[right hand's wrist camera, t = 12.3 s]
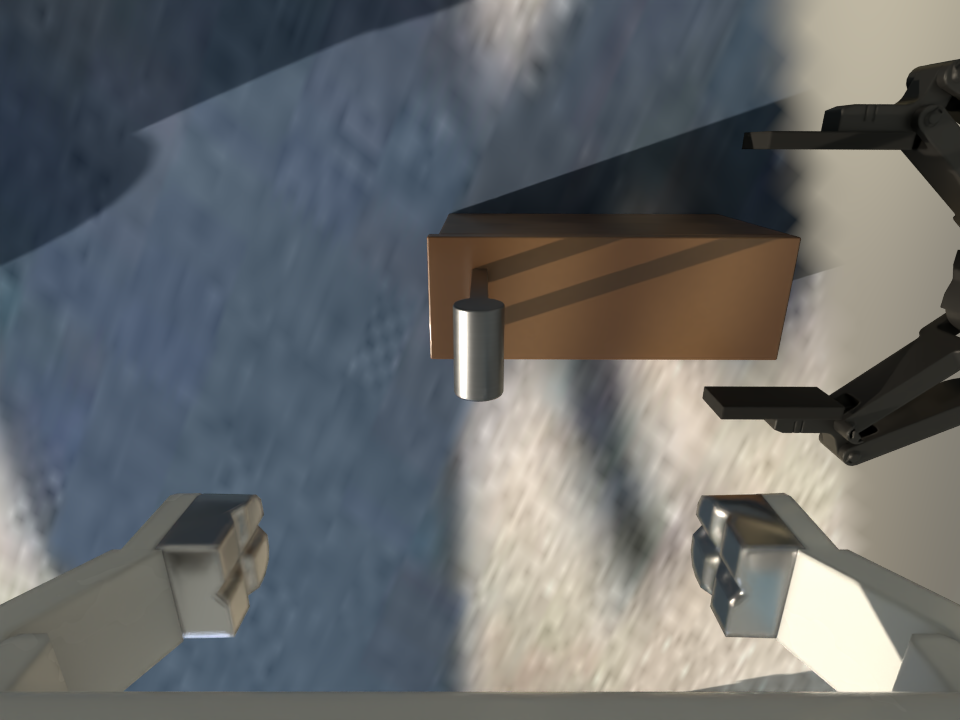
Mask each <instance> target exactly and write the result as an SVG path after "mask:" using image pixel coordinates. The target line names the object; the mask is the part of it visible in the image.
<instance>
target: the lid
mask: <svg viewBox="0 0 960 720" xmlns="http://www.w3.org/2000/svg"><path fill="white" fill-rule="evenodd" d="M800 241H801V238H800V237H797V236H793V235H587V234H429V235H428V237H427V255H428V288H429V320H430V352H431V359H454V392H455V394H456V395H457V396H458V397H459V398H462V399H464V400H468V401H478V402H479V401H489V400H493V399H496V398H498V397H500V396H501V395H502V393H503V381H504V359H638V360H776V359H777V355H778V350H779V345H780V340H781V335H782V330H783V325H784V320H785V315H786V311H787V306H788V301H789V296H790V291H791V286H792V281H793V276H794V271H795V266H796V261H797V256H798V251H799V246H800Z"/></svg>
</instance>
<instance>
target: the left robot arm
mask: <svg viewBox="0 0 960 720" xmlns="http://www.w3.org/2000/svg"><path fill="white" fill-rule="evenodd" d="M906 86H907V91H906V92H905V94H904V96H903V97H902V99H900V101H898V102H897V103H896V104H853V105H845V106H837V107H834V108H831V109H829V110H826V111H825V114H824V119H823V124H822V129H821V131H765V132H748V133H744V140H743V146H742V149H853V150H855V149H856V150H901V151H902V152H903V153H904V154H905V155H906V157H907V158H908V159H909V160H910V161H911V162H912V164H913V165H914V166H915V167H916V168H917V170H918V171H919V172H920V173H921V174H922V175H923V177H924V178H925V179H926V180H927V181H928V182H929V184H930V185H931V186H932V187H933V188H934V190H935V191H936V192H937V193H938V194H939V195H940V197H941V198H942V199H943V200H944V201H945V202H946V204H947V205H948V206H949V207H950V208H951V210H952V211H953V212H954V213H955V216H954V217H953V219H954V221H955V222H956V223H957V224H958V226H959V227H960V127H959V125H958V124H960V59H958V60H952V61H946V62H941V63H935V64H930V65H925V66H920V67H917V68H915V69H914V70H913V71H912V72H911V73H910V74H909V76H908V78H907V82H906ZM956 122H957V123H958V124H957V123H956ZM941 308H944V309H946V313H945V314H943V315H942V316H940V317H939V318H937V319H936V320H934V321H933V322H931V323H930V324H928V325H927V326H925V327H923V328H922V329H921V330H920V332H919V335H920V336H919V337H918V338H917V339H916V340H914V341H913V342H911V343H910V344H908V345H906V346H905V347H903V348H902V349H900V350H899V351H897V352H896V353H894V354H893V355H891V356H889V357H888V358H886V359H885V360H883V361H882V362H880V363H879V364H877V365H876V366H874V367H872V368H871V369H869V370H868V371H866V372H865V373H863V374H862V375H860V376H859V377H857V378H855V379H854V380H852V381H851V382H849V383H848V384H846V385H845V386H843V387H842V388H840V389H838V390H837V391H835V392H834V393H832V394H831V395H827V394H826V393H825V392H823V391H822V390H820V389H819V388H818V387H704V392H703V399H704V401H705V402H706V403H707V404H708V405H709V406H710V407H711V408H712V410H713V411H714V412H715V413H716V414H717V415H718V416H719V417H720V419H764V420H765V421H766V422H767V423H768V424H769V425H770V426H771V427H772V428H773V429H774V430H777V431H779V432H782V433H792V432H793V433H820V435H819V440H820V442H821V443H822V444H823V445H824V446H825V447H827V448H828V449H829V450H830V451H831V452H832V453H834V454H835V455H836V456H837V457H838V458H839V459H841V460H842V461H843V462H844V463H845V464H847V465H850V466H854V465H858V464H860V463H863V462H865V461H868V460H871V459H873V458H876V457H878V456H881V455H884V454H886V453H889V452H891V451H894V450H897V449H899V448H902V447H905V446H907V445H910V444H912V443H915V442H918V441H920V440H923V439H925V438H928V437H931V436H933V435H936V434H938V433H941V432H944V431H946V430H949V429H951V428H954V427H957V426H959V425H960V378H957V379H951V380H947V381H944V382H942V381H943V380H945V379H947V378H948V377H950V376H951V375H953V374H955V373H956V372H958V371H959V370H960V337H957V336H955V335H957V334H959V333H960V250H958V251H957V254H956V257H955V261H954V264H953V280H952V281H951V283H950V285H949V287H948V288H947V290H946V292H945V294H944V297H943V300H942V304H941ZM940 382H941V383H940Z"/></svg>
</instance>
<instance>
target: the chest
mask: <svg viewBox="0 0 960 720" xmlns="http://www.w3.org/2000/svg"><path fill="white" fill-rule="evenodd" d="M439 234H587V235H789V234H786V233H782V232H779V231H775V230H772V229H768V228H765V227H761V226H758V225H754V224H751V223H747V222H743V221H740V220H736V219H733V218H729V217H726V216H722V215H719V214H449V215H448V217H447V219H446V221H445V223H444V225H443V227H442V229H441V231H440V233H439Z"/></svg>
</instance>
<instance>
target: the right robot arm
mask: <svg viewBox="0 0 960 720" xmlns="http://www.w3.org/2000/svg"><path fill="white" fill-rule="evenodd" d="M263 515H264V512H263V507H262V502H261V499H260V498H259V497H258V496H257V495H250V494H200V493H179V494H174V495H170V496H169V497H168V498H167V499H166V500H165V502H164V503H163V504H162V505H161V506H160V507H159V508H158V509H157V510H156V512H155V513H154V514H153V515H152V516H151V517H150V518H149V519H148V520H147V521H146V523H145V524H144V525H143V526H142V527H141V528H140V529H139V530H138V531H137V533H136V534H135V535H134V536H133V537H132V538H131V539H130V540H129V541H128V542H127V544H126V545H125V546H124V547H123V548H122V549H121V550H110V551H108V552H106V553H104V554H102V555H100V556H98V557H96V558H94V559H92V560H90V561H88V562H86V563H84V564H82V565H80V566H78V567H76V568H74V569H72V570H70V571H68V572H66V573H64V574H62V575H60V576H58V577H56V578H54V579H52V580H50V581H48V582H46V583H43V584H41V585H39V586H37V587H35V588H33V589H31V590H29V591H27V592H25V593H23V594H21V595H19V596H17V597H15V598H13V599H11V600H9V601H7V602H5V603H3V604H1V605H0V720H960V605H959V604H957V603H955V602H953V601H951V600H949V599H947V598H945V597H943V596H941V595H939V594H937V593H935V592H932V591H930V590H928V589H926V588H924V587H922V586H920V585H918V584H916V583H914V582H912V581H910V580H908V579H906V578H904V577H902V576H900V575H898V574H896V573H894V572H892V571H890V570H888V569H886V568H884V567H882V566H880V565H878V564H876V563H874V562H872V561H870V560H868V559H866V558H864V557H862V556H860V555H858V554H856V553H854V552H852V551H850V550H839V549H838V548H837V547H836V546H835V545H834V544H833V543H832V541H831V540H830V539H829V538H828V537H827V536H826V535H825V534H824V533H823V531H822V530H821V529H820V528H819V527H818V526H817V525H816V524H815V523H814V521H813V520H812V519H811V518H810V517H809V516H808V515H807V514H806V513H805V511H804V510H803V509H802V508H801V507H800V506H799V505H798V504H797V503H796V502H795V500H794V499H793V498H792V497H791V496H789V495H787V494H785V493H770V494H753V495H702V496H701V498H700V500H699V502H698V506H697V511H696V515H697V517H698V519H699V521H700V522H701V524H702V526H701V527H700V528H699V529H698V530H697V531H696V532H695V533H694V534H693V536H692V544H691V558H692V566H693V570H694V573H695V577H696V579H697V581H698V583H699V585H700V587H701V588H702V589H704V590H705V591H707V592H708V593H709V594H711V595H712V599H711V605H710V607H711V609H712V611H713V613H714V615H715V617H716V619H717V621H718V623H719V625H720V627H721V628H722V630H723V632H724V634H725V636H726V637H751V638H777V640H776V641H777V642H779V643H780V644H781V645H782V646H783V647H785V648H786V649H787V650H788V651H789V652H791V653H792V654H793V655H794V656H795V657H797V658H798V659H799V660H800V661H801V662H803V663H804V664H805V665H806V666H807V667H809V668H810V669H811V670H812V671H813V672H815V673H816V674H817V675H818V676H819V677H821V678H822V679H823V680H824V681H825V682H827V683H828V684H829V685H830V686H831V687H833V688H834V689H835V690H836V691H837V692H123V691H124V690H125V689H126V688H128V687H129V686H130V685H131V684H132V683H134V682H135V681H136V680H137V679H138V678H140V677H141V676H142V675H143V674H144V673H146V672H147V671H148V670H149V669H150V668H152V667H153V666H154V665H155V664H156V663H158V662H159V661H160V660H161V659H162V658H164V657H165V656H166V655H167V654H168V653H170V652H171V651H172V650H173V649H174V648H176V647H177V646H178V645H179V644H180V643H182V642H183V638H208V637H234V636H235V634H236V632H237V631H238V629H239V627H240V625H241V623H242V621H243V619H244V617H245V615H246V613H247V611H248V609H249V607H250V605H249V599H248V595H249V594H251V593H252V592H253V591H255V590H256V589H258V588H259V587H260V585H261V583H262V581H263V579H264V577H265V574H266V569H267V565H268V560H269V543H268V536H267V534H266V533H265V532H264V531H263V530H262V529H261V528H260V527H259V526H258V524H259V522H260V521H261V519H262V517H263Z"/></svg>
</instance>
